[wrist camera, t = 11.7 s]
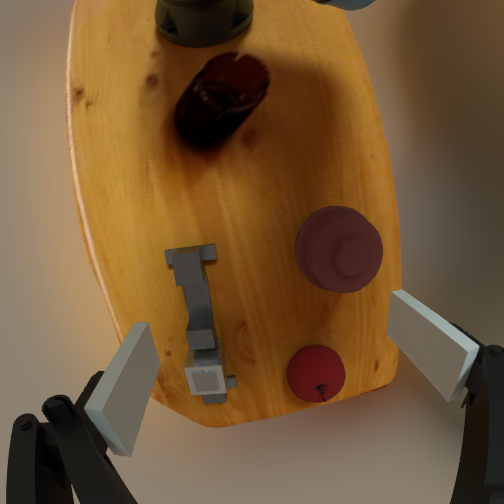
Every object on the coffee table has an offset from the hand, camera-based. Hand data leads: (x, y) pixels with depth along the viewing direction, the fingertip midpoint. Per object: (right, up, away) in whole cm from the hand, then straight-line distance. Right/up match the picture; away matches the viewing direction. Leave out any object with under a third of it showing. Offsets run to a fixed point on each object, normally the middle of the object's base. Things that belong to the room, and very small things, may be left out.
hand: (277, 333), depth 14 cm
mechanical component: (+8, +6, +25) cm, 27 cm away
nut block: (-8, -12, +27) cm, 31 cm away
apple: (+8, -14, +30) cm, 34 cm away
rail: (-9, -7, +27) cm, 29 cm away
